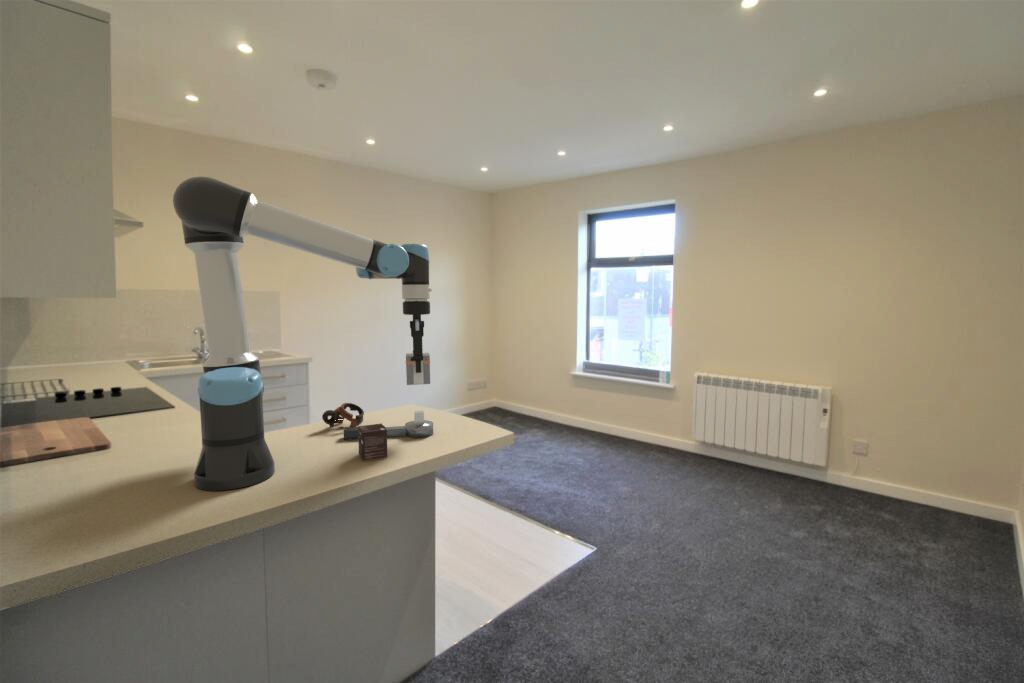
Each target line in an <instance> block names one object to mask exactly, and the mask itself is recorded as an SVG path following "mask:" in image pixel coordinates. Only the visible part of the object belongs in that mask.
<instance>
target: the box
mask: <svg viewBox="0 0 1024 683" xmlns="http://www.w3.org/2000/svg"><path fill="white" fill-rule="evenodd" d="M357 427H358V439H357V440H358V455H359V457H360V459H361V461H362V462H368V461H374V460H382V459H387V458H388V437H387V429H386V428H385V427H386V426H385V425H383V423H374V424H367V425H358V426H357Z"/></svg>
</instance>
